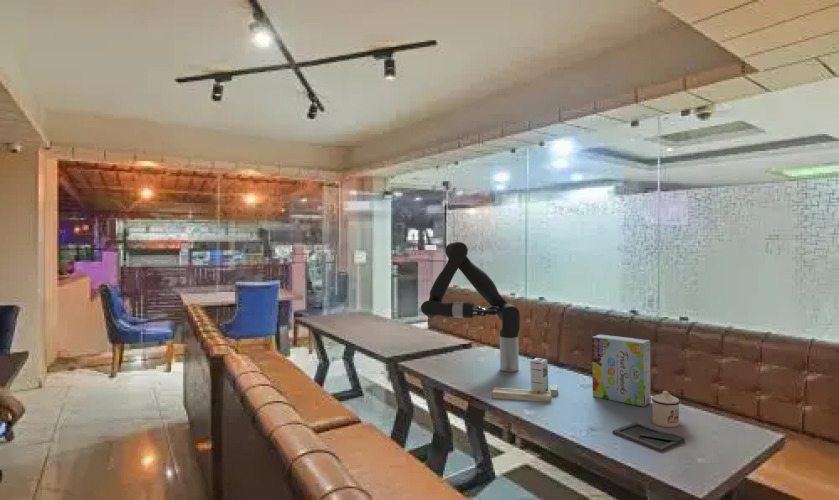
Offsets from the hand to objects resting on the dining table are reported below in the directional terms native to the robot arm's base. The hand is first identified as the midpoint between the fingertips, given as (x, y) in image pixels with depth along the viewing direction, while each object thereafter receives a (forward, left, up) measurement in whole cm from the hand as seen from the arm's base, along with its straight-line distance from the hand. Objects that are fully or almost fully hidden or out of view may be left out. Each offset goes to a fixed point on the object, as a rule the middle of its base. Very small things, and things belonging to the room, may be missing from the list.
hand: (497, 310), depth 233 cm
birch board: (+17, +12, -34) cm, 40 cm away
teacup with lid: (+32, +66, -34) cm, 81 cm away
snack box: (+10, +52, -34) cm, 63 cm away
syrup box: (+8, +19, -34) cm, 40 cm away
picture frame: (+48, +57, -35) cm, 83 cm away
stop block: (+8, +25, -34) cm, 43 cm away
